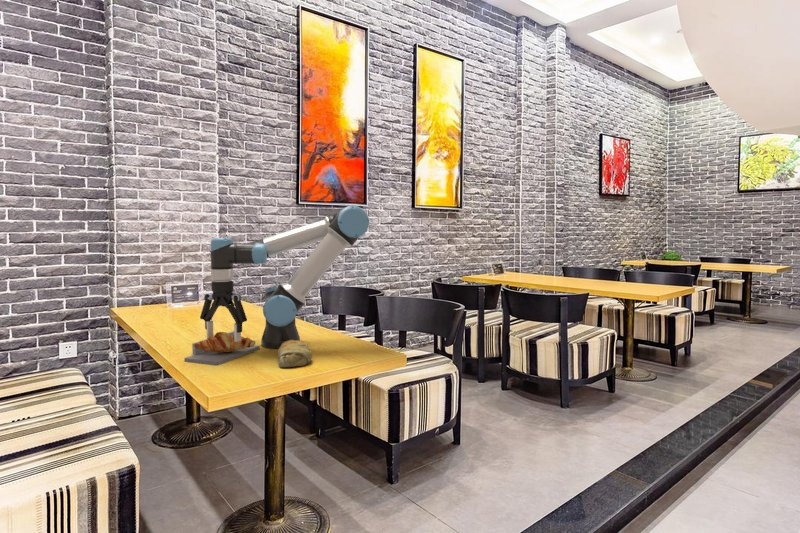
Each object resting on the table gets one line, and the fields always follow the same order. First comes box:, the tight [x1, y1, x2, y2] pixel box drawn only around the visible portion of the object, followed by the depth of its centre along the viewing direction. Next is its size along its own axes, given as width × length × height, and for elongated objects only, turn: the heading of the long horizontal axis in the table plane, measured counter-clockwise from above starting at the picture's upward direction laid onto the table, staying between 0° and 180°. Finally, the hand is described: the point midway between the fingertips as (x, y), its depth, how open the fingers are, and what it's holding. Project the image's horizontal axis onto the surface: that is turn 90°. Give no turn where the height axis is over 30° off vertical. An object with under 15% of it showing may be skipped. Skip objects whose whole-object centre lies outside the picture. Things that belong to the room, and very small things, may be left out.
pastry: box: [277, 340, 313, 369], centre depth 171 cm, size 14×12×8 cm
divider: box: [191, 330, 234, 355], centre depth 193 cm, size 1×24×4 cm, turn 161°
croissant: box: [194, 331, 257, 352], centre depth 181 cm, size 21×10×8 cm, turn 115°
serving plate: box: [183, 344, 261, 366], centre depth 181 cm, size 14×24×1 cm, turn 161°
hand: (223, 339), depth 180 cm, fingers closed on croissant, 11 cm apart
